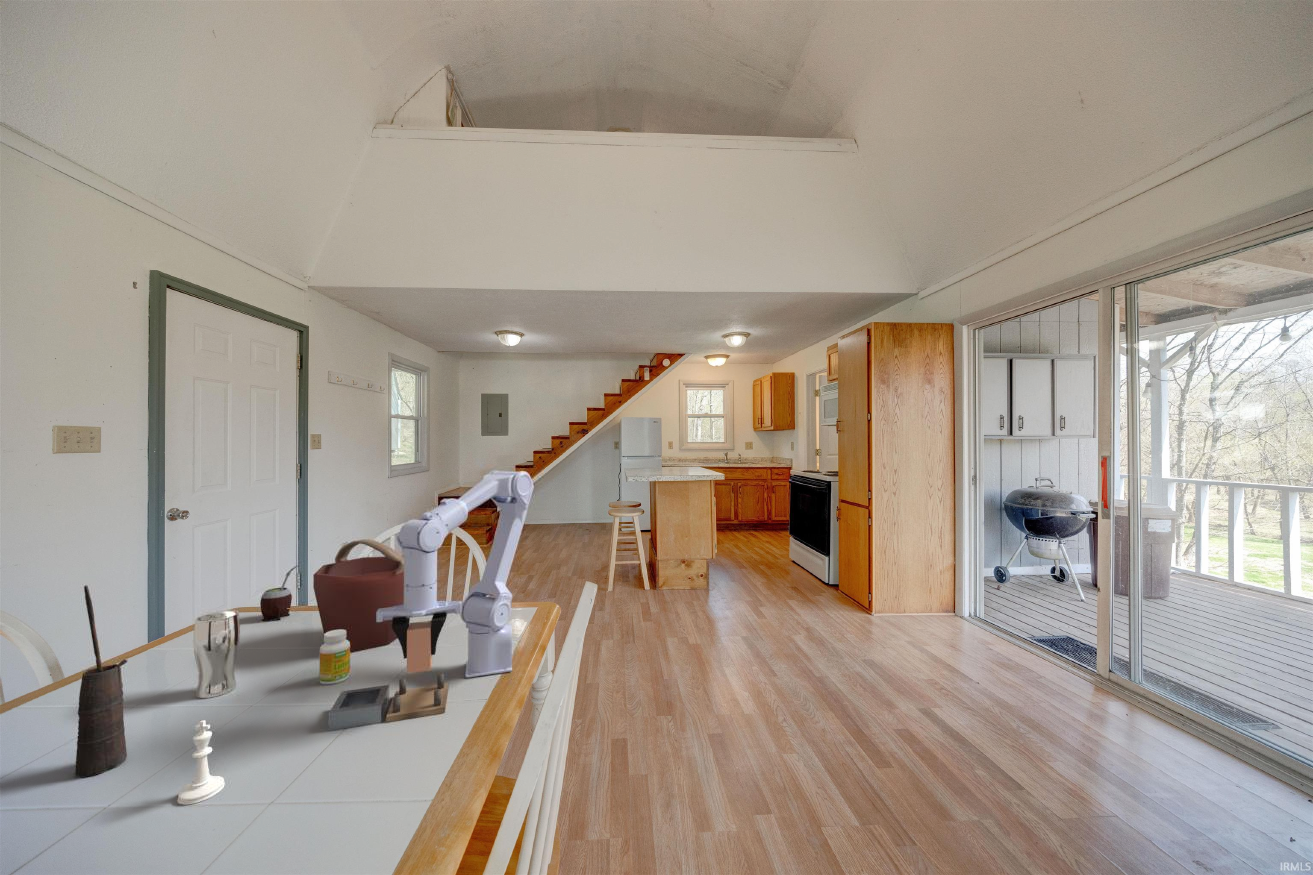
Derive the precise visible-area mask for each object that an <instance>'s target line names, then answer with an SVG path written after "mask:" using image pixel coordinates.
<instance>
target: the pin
mask: <svg viewBox="0 0 1313 875" xmlns="http://www.w3.org/2000/svg"><path fill="white" fill-rule="evenodd" d="M431 642H432V627H431V620H426V621H424V620H423V621H416V622H409V627H408V629H407V658H406V674H415V673H423V672H429V671H431V669H432V664H433V657H434V655H431Z"/></svg>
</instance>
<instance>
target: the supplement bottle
mask: <svg viewBox="0 0 1313 875" xmlns="http://www.w3.org/2000/svg"><path fill="white" fill-rule="evenodd" d="M323 642H324V643H323V644H322V645H321V646H320V647H319V670H318V671H319V673H318V674H319V678H318V679H319V683H320V684H322V685H335V684H339V683H341V682H344V681H345V680H347V679H348V678H349V677H350V675H351V674H350V673H351V653H350V642H349V641H348V640H346V630H342V629H340V630H333V631H329V632H327V633H325V634H324V633H323Z"/></svg>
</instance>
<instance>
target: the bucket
mask: <svg viewBox="0 0 1313 875" xmlns="http://www.w3.org/2000/svg"><path fill="white" fill-rule="evenodd" d="M358 545H365V546H367V547H370V548H372V549H374V550H376V551H378V552H380V553H381V555H383V556H362V557H358V558H353V559H347V558H348V556H349V555H350V553H351V551H352V550H353V549H354V548H355V547H357V546H358ZM312 588H313V592H314V597H315V600H316V604H317V608H318V613H319V617H320V623H321V627H322V630H323V635H324V634H325V633H327V632H329V631H333V630H340V629H342V630H346V640H348V641H349V642H350V654H353V653H357V652H361V651H367V650H371V649H376V648H381V647H385V646H388V645H390V644H391V643H393V642H395V641H396V640H398V638H397V636H396V634H395V632H394V631H393V629H392V626H391V625H392V620H383V622H376V612H377V611H378V609H381V608H388V607H394V606H399V605H404V556H402V554H399V553H398V552H396V551H395V550H394V549H393V548H392V547H390V546H388V545H386V544H384V543H382V542H380V541H377V540H373V539H359V540H353V541H350V542H349V543H346V544H344V546H342V547H341V548H339V550H338V552H337V554H336V556H335V557H334V562H333V563H327V564H323V565H322V566H321V567H320V568H318V570H317V571H316V572H315V573H313V587H312Z"/></svg>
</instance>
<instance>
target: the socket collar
mask: <svg viewBox="0 0 1313 875" xmlns="http://www.w3.org/2000/svg"><path fill="white" fill-rule="evenodd" d="M390 685H391V684H384V685H383V684H382V685H378V686H377V685H375V686H371V687H364V688H355V689H349V690H342V691H341V692H340V693H339V695H338V697H337V698H336V701H335V702H334V704H333V706H332V707H331V709H330V710H329V712H328V732H329V731H335V730H341V729H342V730H344V729H348V728H355V727H360V726H367V725H368V726H369V725H373V724H379V723H382V721H383V718H384V715H385V713H386V711H387V708H388V706H389V703H390Z"/></svg>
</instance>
